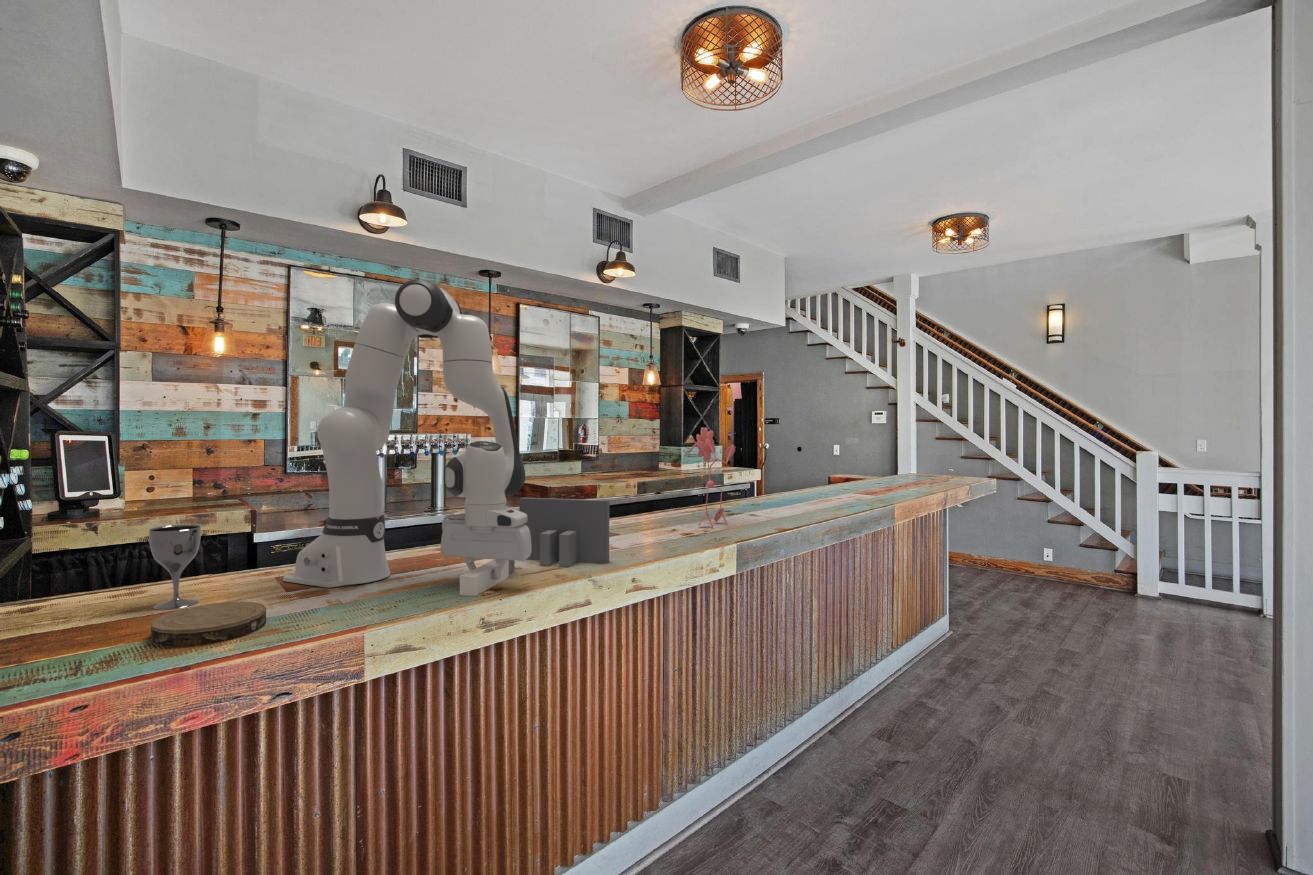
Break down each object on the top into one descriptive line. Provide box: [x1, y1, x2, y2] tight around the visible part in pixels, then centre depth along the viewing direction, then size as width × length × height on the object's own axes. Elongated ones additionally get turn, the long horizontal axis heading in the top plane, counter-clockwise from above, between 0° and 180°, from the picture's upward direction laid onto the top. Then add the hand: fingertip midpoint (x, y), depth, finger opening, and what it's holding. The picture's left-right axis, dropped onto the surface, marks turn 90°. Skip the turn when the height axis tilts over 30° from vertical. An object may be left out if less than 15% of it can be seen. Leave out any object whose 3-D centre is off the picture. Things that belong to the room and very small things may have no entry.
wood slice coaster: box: [150, 601, 267, 648], centre depth 105 cm, size 16×16×3 cm
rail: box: [459, 559, 516, 597], centre depth 138 cm, size 4×22×6 cm, turn 169°
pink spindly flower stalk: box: [681, 427, 736, 528], centre depth 220 cm, size 15×26×35 cm, turn 142°
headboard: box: [518, 497, 610, 568], centre depth 158 cm, size 24×8×16 cm, turn 79°
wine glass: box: [148, 524, 202, 611], centre depth 120 cm, size 8×8×15 cm
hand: (485, 578), depth 135 cm, fingers closed on rail, 3 cm apart
